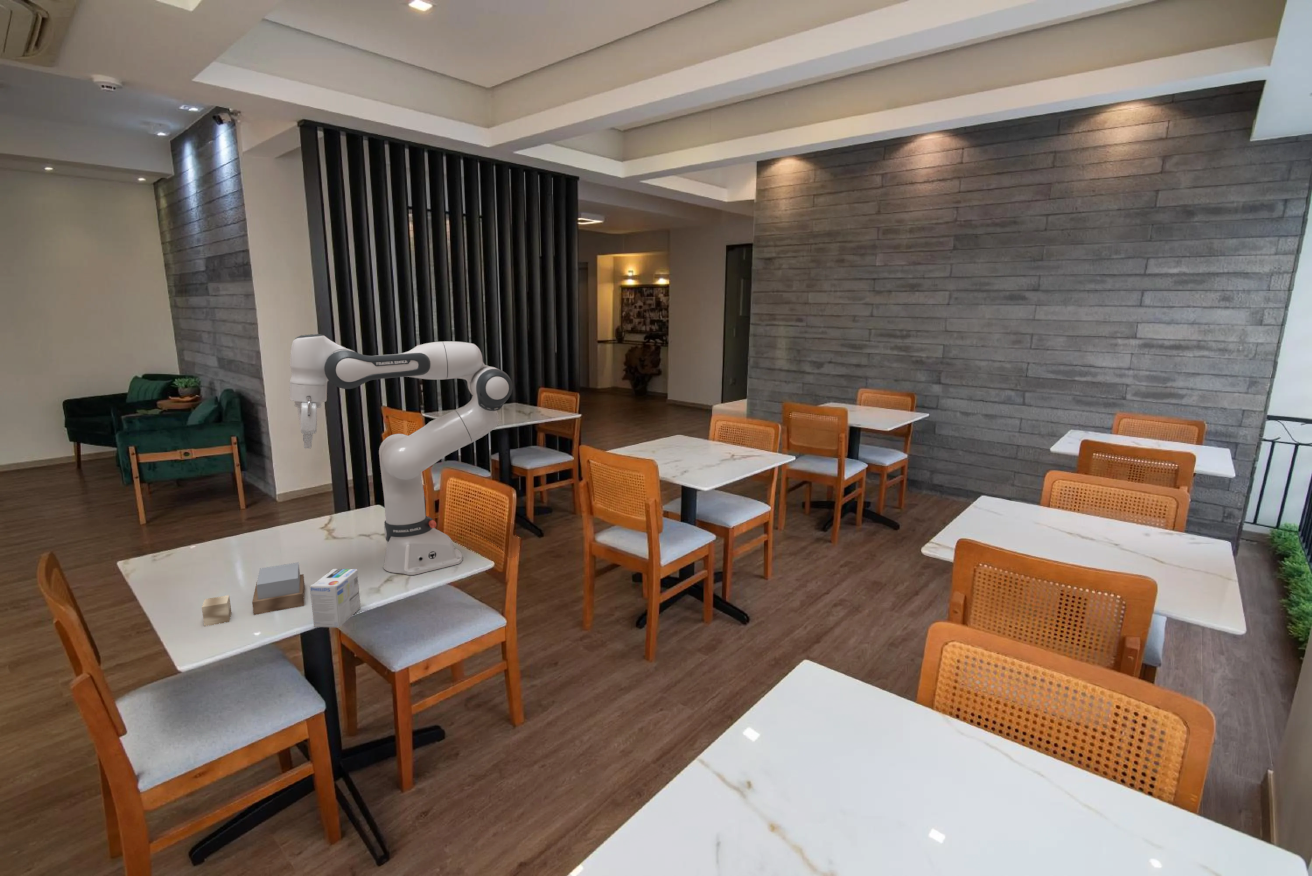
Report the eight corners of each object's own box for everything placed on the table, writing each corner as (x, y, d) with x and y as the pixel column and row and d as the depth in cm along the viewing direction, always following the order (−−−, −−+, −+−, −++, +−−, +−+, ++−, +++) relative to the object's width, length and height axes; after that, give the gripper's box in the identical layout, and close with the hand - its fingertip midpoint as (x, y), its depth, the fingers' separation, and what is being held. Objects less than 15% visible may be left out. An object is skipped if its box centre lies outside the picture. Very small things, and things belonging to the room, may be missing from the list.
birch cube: (231, 613, 157) (229, 595, 156) (229, 622, 153) (226, 603, 152) (207, 618, 155) (204, 599, 154) (204, 626, 151) (201, 607, 150)
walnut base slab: (304, 587, 174) (303, 574, 173) (304, 608, 162) (302, 593, 161) (258, 595, 169) (256, 581, 168) (253, 617, 157) (252, 602, 156)
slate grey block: (300, 576, 172) (298, 562, 171) (299, 592, 162) (297, 578, 161) (261, 582, 168) (259, 568, 167) (258, 599, 157) (256, 585, 157)
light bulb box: (336, 607, 161) (332, 567, 159) (362, 608, 161) (358, 568, 159) (312, 627, 151) (308, 585, 149) (340, 628, 150) (336, 586, 148)
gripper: (323, 399, 162) (322, 452, 164) (319, 390, 179) (318, 438, 181) (295, 398, 158) (294, 452, 160) (294, 389, 176) (293, 438, 178)
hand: (307, 444), depth 171 cm, fingers open, 8 cm apart
